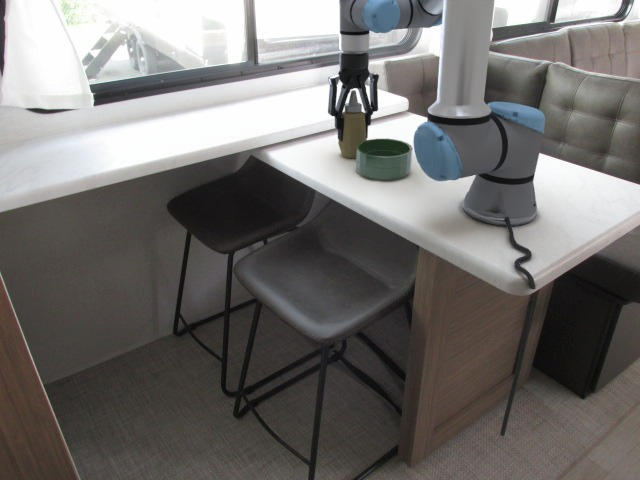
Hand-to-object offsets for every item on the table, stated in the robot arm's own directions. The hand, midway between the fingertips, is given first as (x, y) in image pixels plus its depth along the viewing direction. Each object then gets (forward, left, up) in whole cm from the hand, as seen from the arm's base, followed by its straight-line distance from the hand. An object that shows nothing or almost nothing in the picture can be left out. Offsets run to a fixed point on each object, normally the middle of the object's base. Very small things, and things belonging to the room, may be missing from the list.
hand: (352, 138), depth 142 cm
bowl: (-14, -3, -5) cm, 15 cm away
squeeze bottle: (0, 0, -5) cm, 5 cm away
